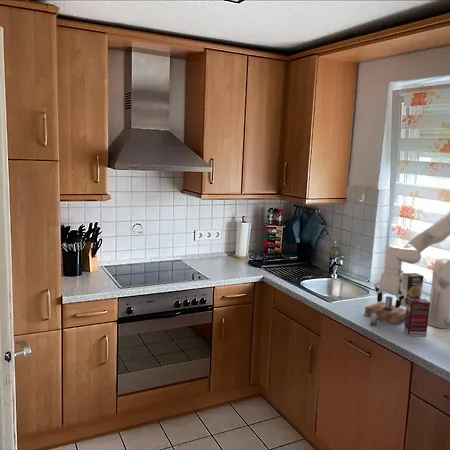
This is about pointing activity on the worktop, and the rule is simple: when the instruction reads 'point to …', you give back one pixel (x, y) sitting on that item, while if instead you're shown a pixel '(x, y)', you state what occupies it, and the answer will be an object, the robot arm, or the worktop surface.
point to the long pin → (388, 303)
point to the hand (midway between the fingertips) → (388, 304)
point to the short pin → (374, 319)
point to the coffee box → (412, 286)
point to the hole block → (386, 313)
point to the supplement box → (416, 317)
